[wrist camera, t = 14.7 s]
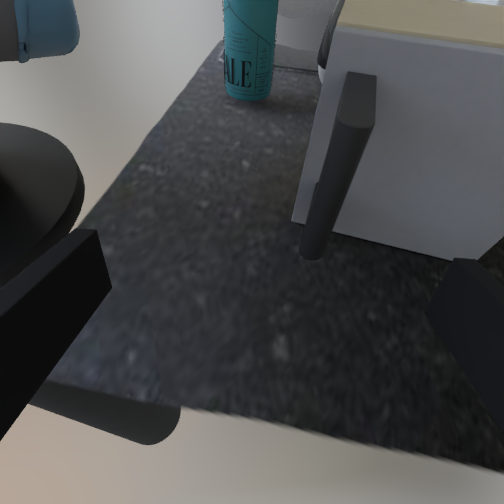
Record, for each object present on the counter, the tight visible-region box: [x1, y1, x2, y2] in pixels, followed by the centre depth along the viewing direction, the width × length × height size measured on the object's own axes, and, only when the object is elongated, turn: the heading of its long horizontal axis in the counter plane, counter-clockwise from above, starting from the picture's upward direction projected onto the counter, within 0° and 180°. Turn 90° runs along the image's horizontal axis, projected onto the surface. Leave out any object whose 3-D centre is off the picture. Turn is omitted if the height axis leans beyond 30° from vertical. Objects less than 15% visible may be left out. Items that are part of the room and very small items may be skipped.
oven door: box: [291, 26, 504, 261], centre depth 17 cm, size 7×15×14 cm, turn 73°
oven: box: [336, 0, 504, 49], centre depth 23 cm, size 11×15×14 cm
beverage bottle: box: [223, 0, 278, 101], centre depth 32 cm, size 6×7×20 cm
